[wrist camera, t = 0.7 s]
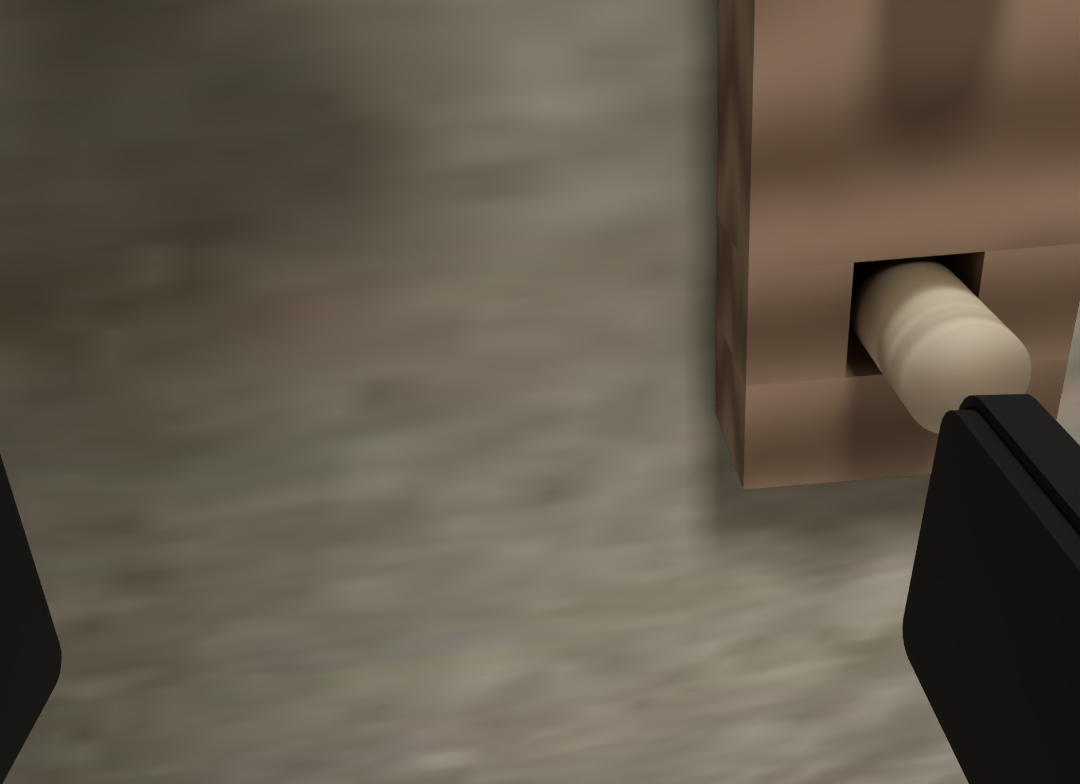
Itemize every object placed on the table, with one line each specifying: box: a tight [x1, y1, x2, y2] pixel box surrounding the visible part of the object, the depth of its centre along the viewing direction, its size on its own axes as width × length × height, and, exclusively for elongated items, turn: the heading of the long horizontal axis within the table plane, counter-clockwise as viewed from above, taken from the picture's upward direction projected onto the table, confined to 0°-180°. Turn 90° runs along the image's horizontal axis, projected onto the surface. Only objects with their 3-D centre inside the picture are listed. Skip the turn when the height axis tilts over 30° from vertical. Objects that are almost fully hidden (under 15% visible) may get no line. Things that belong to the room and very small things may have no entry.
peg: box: [851, 257, 1031, 434], centre depth 35 cm, size 4×4×6 cm
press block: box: [716, 0, 1080, 490], centre depth 36 cm, size 28×12×6 cm, turn 4°
